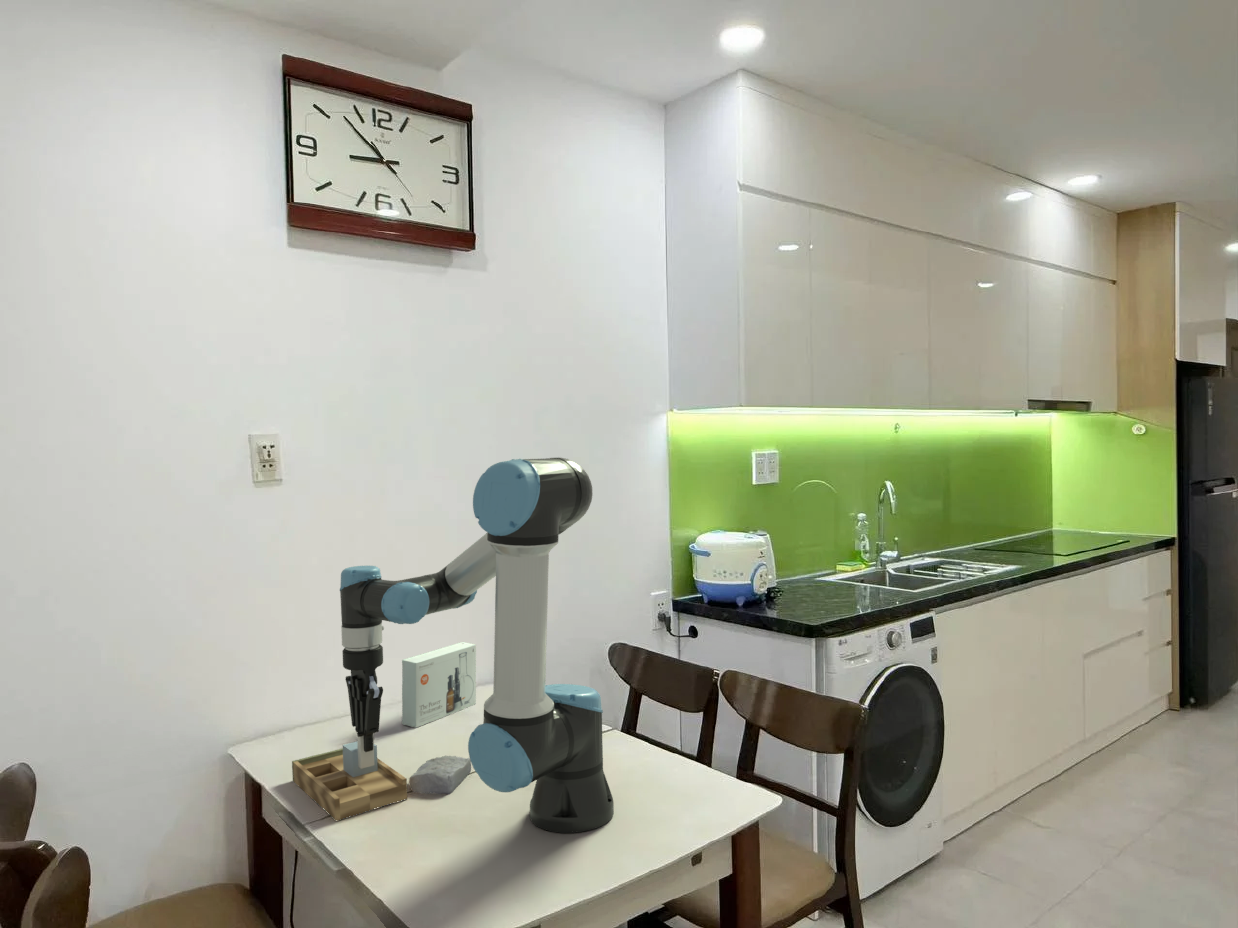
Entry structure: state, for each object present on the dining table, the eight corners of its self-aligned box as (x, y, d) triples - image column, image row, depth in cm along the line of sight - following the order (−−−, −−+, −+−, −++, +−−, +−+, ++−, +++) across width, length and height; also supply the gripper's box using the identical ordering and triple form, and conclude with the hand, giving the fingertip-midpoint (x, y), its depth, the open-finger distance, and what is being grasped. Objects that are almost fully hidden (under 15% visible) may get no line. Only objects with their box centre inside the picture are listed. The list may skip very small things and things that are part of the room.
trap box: (407, 799, 160) (406, 778, 160) (335, 821, 152) (335, 799, 151) (358, 762, 179) (358, 744, 179) (292, 780, 170) (292, 760, 170)
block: (377, 770, 167) (376, 745, 167) (353, 777, 164) (352, 751, 164) (367, 763, 171) (366, 738, 171) (343, 769, 168) (342, 744, 167)
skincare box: (417, 729, 199) (415, 662, 199) (401, 725, 202) (399, 659, 202) (478, 704, 217) (476, 643, 216) (462, 701, 220) (461, 640, 219)
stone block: (406, 802, 163) (454, 795, 162) (401, 777, 164) (449, 770, 162) (431, 779, 175) (476, 772, 173) (426, 757, 175) (471, 749, 173)
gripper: (394, 648, 161) (398, 770, 162) (368, 637, 171) (371, 751, 172) (356, 655, 156) (360, 781, 157) (331, 643, 167) (335, 761, 167)
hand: (366, 765), depth 165 cm, fingers closed
